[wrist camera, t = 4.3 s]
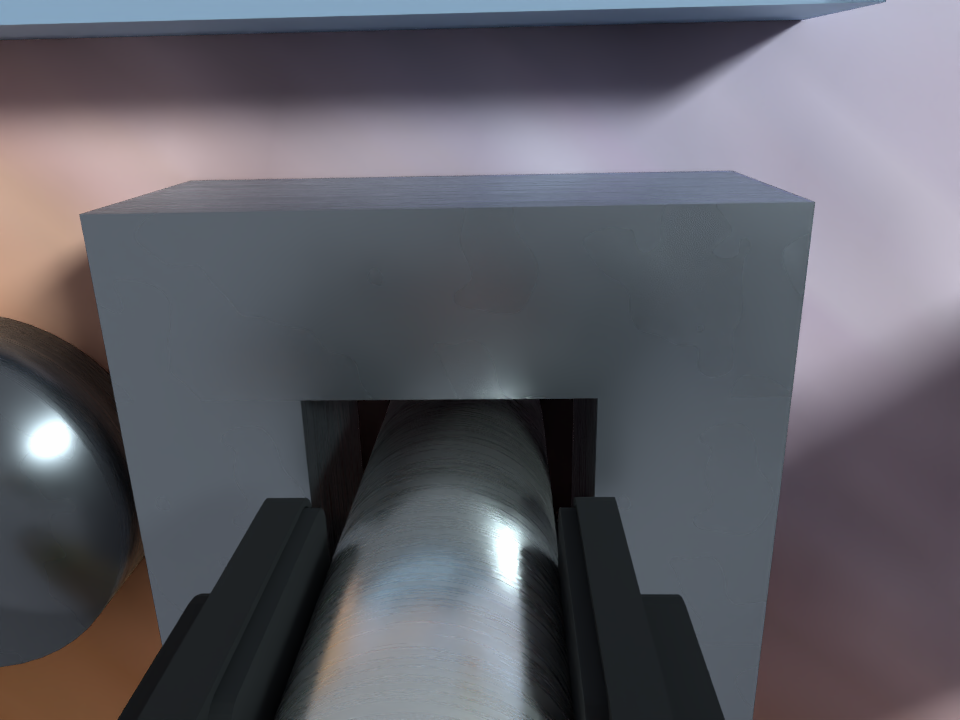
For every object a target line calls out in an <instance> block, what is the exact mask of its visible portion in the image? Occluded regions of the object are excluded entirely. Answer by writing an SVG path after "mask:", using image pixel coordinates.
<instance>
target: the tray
mask: <svg viewBox="0 0 960 720" xmlns="http://www.w3.org/2000/svg"><path fill="white" fill-rule="evenodd" d="M883 2H886V0H0V40H22V39H61V38H101V37H140V36H179V35H219V34H258V33H297V32H337V31H376V30H415V29H455V28H494V27H533V26H573V25H612V24H651V23H691V22H730V21H769V20H805V19H810V18H814V17H819V16H823V15H828V14H833V13H837V12H842V11H846V10H851V9H855V8H860V7H864V6H869V5H874V4H878V3H883Z"/></svg>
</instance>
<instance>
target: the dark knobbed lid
mask: <svg viewBox="0 0 960 720" xmlns="http://www.w3.org/2000/svg"><path fill="white" fill-rule="evenodd" d="M144 556H145V553H144V548H143V542H142V537H141V532H140V527H139V522H138V516H137V511H136V506H135V501H134V496H133V490H132V485H131V480H130V475H129V470H128V464H127V459H126V454H125V449H124V444H123V438H122V433H121V428H120V423H119V418H118V412H117V407H116V402H115V397H114V392H113V386H112V381H111V376H110V375H109V374H108V373H107V372H106V371H105V370H104V369H103V368H102V367H100V366H99V365H98V364H97V363H96V362H95V361H94V360H92V359H91V358H90V357H88V356H87V355H85V354H84V353H83V352H81V351H80V350H78V349H77V348H76V347H74V346H73V345H71V344H69V343H67V342H65V341H64V340H62V339H60V338H58V337H56V336H55V335H53V334H51V333H48V332H46V331H44V330H41V329H39V328H37V327H34V326H32V325H29V324H26V323H22V322H19V321H16V320H12V319H9V318H4V317H0V667H4V666H10V665H16V664H22V663H25V662H29V661H32V660H35V659H39V658H42V657H44V656H46V655H49V654H51V653H53V652H55V651H57V650H60V649H61V648H63V647H64V646H66V645H67V644H69V643H70V642H72V641H74V640H75V639H76V638H77V637H79V636H80V635H81V634H82V633H83V632H84V631H85V630H87V629H88V628H89V627H90V626H91V624H92V623H93V622H94V621H95V619H96V618H97V617H98V616H99V615H100V613H101V612H102V611H103V609H104V608H105V607H106V606H107V604H108V603H109V602H110V600H111V599H112V598H113V596H114V595H115V594H116V593H117V591H118V590H119V589H120V587H121V586H122V585H123V583H124V582H125V581H126V579H127V578H128V577H129V576H130V574H131V573H132V572H133V570H134V569H135V568H136V566H137V565H138V564H139V563H140V561H141V560H142V559H143V557H144Z"/></svg>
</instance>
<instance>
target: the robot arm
mask: <svg viewBox="0 0 960 720" xmlns="http://www.w3.org/2000/svg"><path fill="white" fill-rule="evenodd" d="M329 568H330V557H329V547H328V537H327V527H326V518H325V513H324V510H323V509H322V508H312V505H311V503H310V500H309V499H308V498H267V499H266V500H265V501H264V502H263V504H262V506H261V507H260V509H259V511H258V512H257V514H256V516H255V518H254V519H253V521H252V523H251V525H250V526H249V528H248V530H247V531H246V533H245V535H244V537H243V538H242V540H241V542H240V543H239V545H238V547H237V549H236V550H235V552H234V554H233V555H232V557H231V559H230V561H229V562H228V564H227V566H226V567H225V569H224V571H223V573H222V574H221V576H220V578H219V580H218V581H217V583H216V585H215V586H214V588H213V590H212V592H211V593H201V594H198V595H196V596H194V598H193V599H192V600H191V601H190V602H189V604H188V605H187V607H186V609H185V610H184V612H183V614H182V615H181V617H180V618H179V620H178V622H177V623H176V625H175V627H174V628H173V630H172V632H171V633H170V635H169V636H168V638H167V640H166V641H165V643H164V645H163V646H162V648H161V649H160V651H159V653H158V654H157V656H156V658H155V659H154V661H153V663H152V664H151V666H150V667H149V669H148V671H147V672H146V674H145V676H144V677H143V679H142V681H141V682H140V684H139V685H138V687H137V689H136V690H135V692H134V694H133V695H132V697H131V699H130V700H129V702H128V703H127V705H126V707H125V708H124V710H123V712H122V713H121V715H120V716H119V718H118V720H274V718H275V715H276V712H277V709H278V707H279V704H280V701H281V699H282V696H283V693H284V690H285V688H286V685H287V682H288V679H289V677H290V674H291V671H292V668H293V666H294V663H295V660H296V658H297V655H298V652H299V649H300V647H301V644H302V641H303V638H304V636H305V633H306V630H307V628H308V625H309V622H310V619H311V617H312V614H313V611H314V608H315V606H316V603H317V600H318V598H319V595H320V592H321V589H322V587H323V584H324V581H325V578H326V576H327V573H328V570H329ZM558 574H559V583H560V593H561V602H562V612H563V621H564V631H565V640H566V650H567V659H568V668H569V678H570V687H571V697H572V706H573V716H574V720H725V718H724V715H723V712H722V709H721V706H720V704H719V701H718V698H717V695H716V692H715V689H714V686H713V683H712V680H711V677H710V674H709V672H708V669H707V666H706V663H705V660H704V657H703V654H702V651H701V648H700V645H699V642H698V640H697V637H696V634H695V631H694V628H693V625H692V622H691V619H690V616H689V613H688V610H687V607H686V605H685V602H684V600H683V598H682V597H681V596H680V595H679V594H641V593H640V589H639V586H638V582H637V578H636V574H635V570H634V567H633V563H632V559H631V555H630V551H629V548H628V544H627V540H626V536H625V532H624V528H623V525H622V521H621V517H620V513H619V509H618V506H617V502H616V499H615V497H574V504H573V508H559V520H558Z"/></svg>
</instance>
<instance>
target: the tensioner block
mask: <svg viewBox="0 0 960 720" xmlns="http://www.w3.org/2000/svg"><path fill="white" fill-rule="evenodd" d="M814 207H815V202H814V201H811V200H808V199H806V198H803V197H801V196H798V195H795V194H793V193H790V192H787V191H785V190H782V189H779V188H777V187H774V186H772V185H769V184H766V183H764V182H761V181H758V180H756V179H753V178H750V177H748V176H745V175H743V174H740V173H737V172H735V171H693V172H638V173H584V174H529V175H475V176H420V177H366V178H311V179H256V180H202V181H188V182H185V183H181V184H178V185H175V186H171V187H168V188H165V189H162V190H158V191H155V192H152V193H148V194H145V195H142V196H138V197H135V198H132V199H128V200H125V201H122V202H119V203H115V204H112V205H109V206H105V207H102V208H99V209H95V210H92V211H89V212H86V213H82V214H79V215H80V220H81V225H82V230H83V235H84V241H85V246H86V251H87V256H88V261H89V267H90V272H91V277H92V282H93V287H94V293H95V298H96V303H97V308H98V313H99V319H100V324H101V329H102V334H103V340H104V345H105V350H106V355H107V360H108V366H109V371H110V376H111V381H112V386H113V392H114V397H115V402H116V407H117V412H118V418H119V423H120V428H121V433H122V438H123V444H124V449H125V454H126V459H127V464H128V470H129V475H130V480H131V485H132V490H133V496H134V501H135V506H136V511H137V516H138V522H139V527H140V532H141V537H142V542H143V548H144V553H145V558H146V563H147V568H148V574H149V579H150V584H151V589H152V594H153V600H154V605H155V610H156V615H157V620H158V626H159V631H160V636H161V641H162V646H163V645H164V643H165V641H166V640H167V638H168V636H169V635H170V633H171V632H172V630H173V628H174V627H175V625H176V623H177V622H178V620H179V618H180V617H181V615H182V614H183V612H184V610H185V609H186V607H187V605H188V604H189V602H190V601H191V600H192V599H193V598H194V596H196V595H198V594H201V593H211V592H212V590H213V588H214V586H215V585H216V583H217V581H218V580H219V578H220V576H221V574H222V573H223V571H224V569H225V567H226V566H227V564H228V562H229V561H230V559H231V557H232V555H233V554H234V552H235V550H236V549H237V547H238V545H239V543H240V542H241V540H242V538H243V537H244V535H245V533H246V531H247V530H248V528H249V526H250V525H251V523H252V521H253V519H254V518H255V516H256V514H257V512H258V511H259V509H260V507H261V506H262V504H263V502H264V501H265V500H266V499H267V498H308V499H309V500H310V503H311V505H312V508H322V509H323V510H324V513H325V518H326V527H327V537H328V547H329V557H330V565H331V562H332V559H333V557H334V554H335V551H336V548H337V546H338V543H339V540H340V538H341V535H342V532H343V529H344V527H345V524H346V521H347V518H348V516H349V513H350V510H351V507H352V505H353V502H354V499H355V497H356V494H357V491H358V488H359V486H360V483H361V480H362V477H363V466H362V453H361V441H360V428H359V416H358V403H357V400H439V399H571V398H573V446H572V495H571V508H573V504H574V497H615V499H616V502H617V506H618V509H619V513H620V517H621V521H622V525H623V528H624V532H625V536H626V540H627V544H628V548H629V551H630V555H631V559H632V563H633V567H634V570H635V574H636V578H637V582H638V586H639V589H640V593H641V594H679V595H680V596H681V597H682V598H683V600H684V602H685V605H686V607H687V610H688V613H689V616H690V619H691V622H692V625H693V628H694V631H695V634H696V637H697V640H698V642H699V645H700V648H701V651H702V654H703V657H704V660H705V663H706V666H707V669H708V672H709V674H710V677H711V680H712V683H713V686H714V689H715V692H716V695H717V698H718V701H719V704H720V706H721V709H722V712H723V715H724V718H725V720H752V719H753V711H754V702H755V694H756V686H757V678H758V669H759V661H760V653H761V645H762V636H763V628H764V620H765V612H766V603H767V595H768V587H769V579H770V570H771V562H772V554H773V546H774V537H775V529H776V521H777V513H778V504H779V496H780V488H781V480H782V471H783V463H784V455H785V447H786V438H787V430H788V422H789V414H790V405H791V397H792V389H793V381H794V372H795V364H796V356H797V347H798V339H799V331H800V323H801V314H802V306H803V298H804V290H805V281H806V273H807V265H808V257H809V248H810V240H811V232H812V224H813V215H814ZM558 520H559V518H554V521H555V530H556V539H557V548H558Z"/></svg>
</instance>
